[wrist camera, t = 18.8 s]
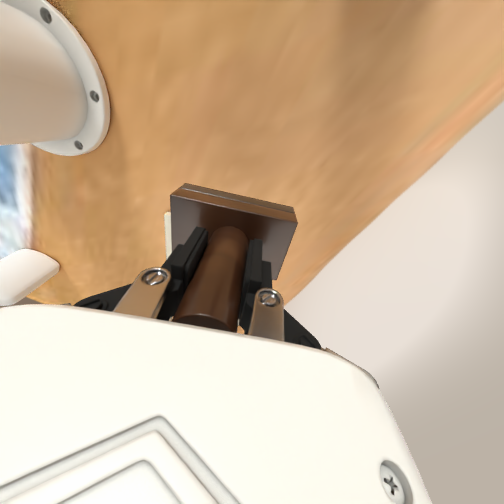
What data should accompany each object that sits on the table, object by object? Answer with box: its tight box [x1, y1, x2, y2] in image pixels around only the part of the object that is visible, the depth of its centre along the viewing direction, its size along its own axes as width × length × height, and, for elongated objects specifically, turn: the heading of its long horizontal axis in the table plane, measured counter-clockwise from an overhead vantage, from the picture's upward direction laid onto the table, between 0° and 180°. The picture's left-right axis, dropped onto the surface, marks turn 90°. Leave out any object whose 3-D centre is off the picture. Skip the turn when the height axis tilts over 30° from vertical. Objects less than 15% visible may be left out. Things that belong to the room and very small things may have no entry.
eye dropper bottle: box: [0, 249, 60, 306], centre depth 27 cm, size 4×6×12 cm
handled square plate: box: [170, 183, 298, 333], centre depth 12 cm, size 8×5×10 cm, turn 78°
